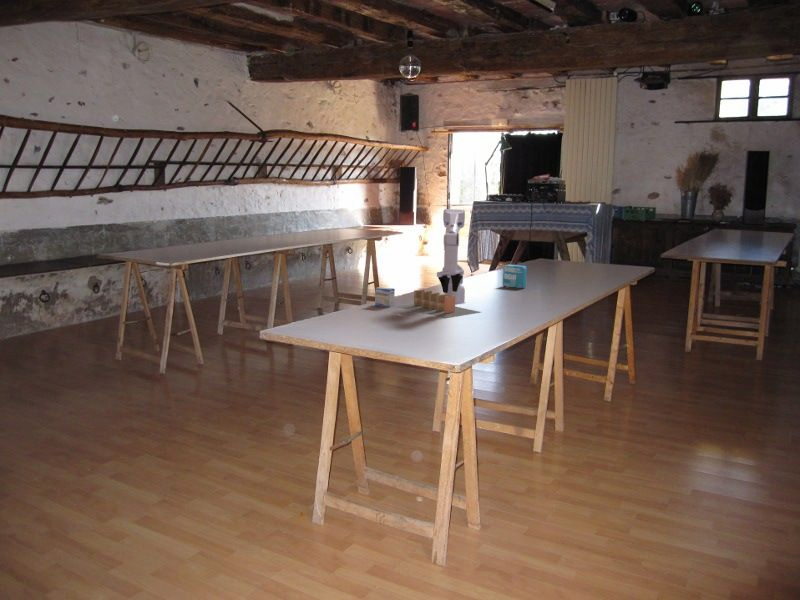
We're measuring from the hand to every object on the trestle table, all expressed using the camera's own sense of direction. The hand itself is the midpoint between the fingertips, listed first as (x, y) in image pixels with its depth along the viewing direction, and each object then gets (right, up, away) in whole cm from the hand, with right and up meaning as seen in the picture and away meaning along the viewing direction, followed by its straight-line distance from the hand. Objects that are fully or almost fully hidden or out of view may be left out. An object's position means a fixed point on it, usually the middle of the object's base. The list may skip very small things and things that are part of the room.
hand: (450, 292), depth 297 cm
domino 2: (-10, -7, +13) cm, 17 cm away
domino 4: (-3, -8, +5) cm, 10 cm away
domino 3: (-7, -7, +9) cm, 13 cm away
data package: (+40, +3, +75) cm, 85 cm away
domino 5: (0, -9, +2) cm, 9 cm away
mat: (-4, -8, +8) cm, 12 cm away
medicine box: (-29, -7, +15) cm, 33 cm away
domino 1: (-13, -6, +17) cm, 22 cm away
